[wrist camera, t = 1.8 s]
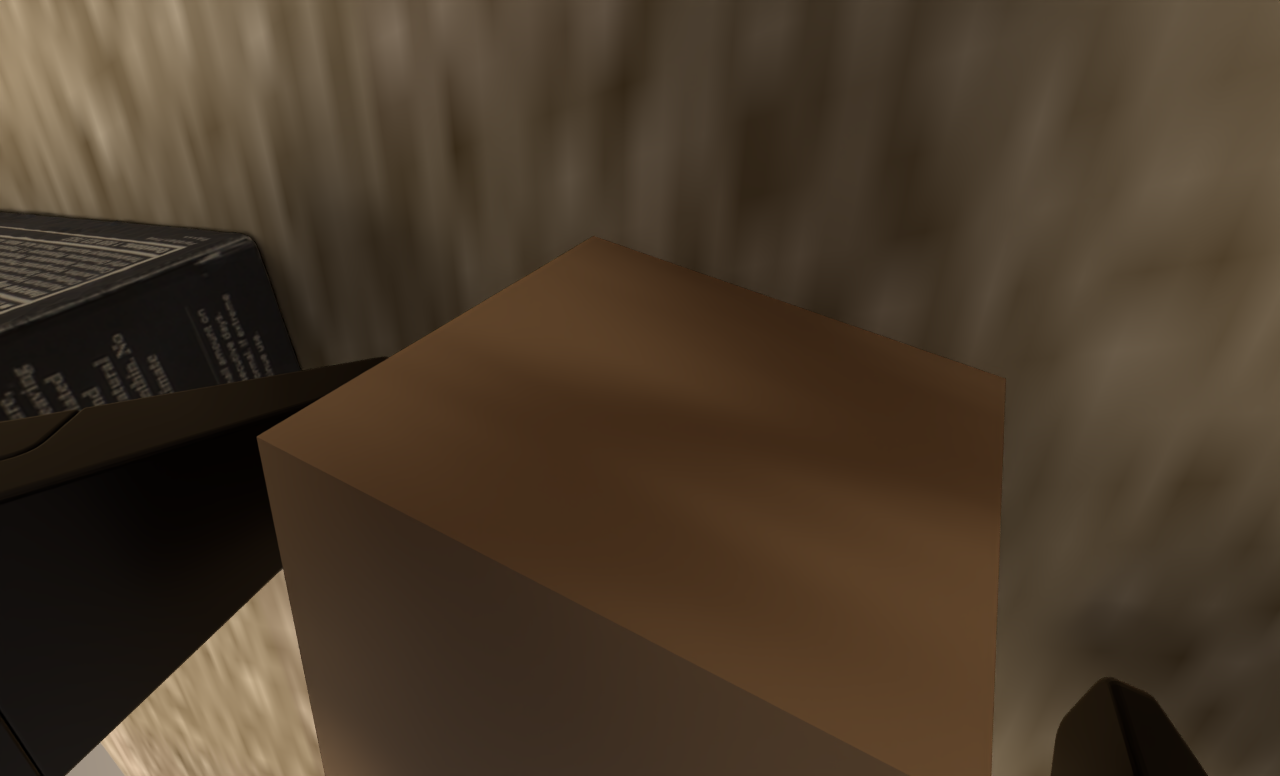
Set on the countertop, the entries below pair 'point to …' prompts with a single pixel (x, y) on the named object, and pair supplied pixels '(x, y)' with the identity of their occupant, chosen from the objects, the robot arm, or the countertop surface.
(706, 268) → the countertop surface
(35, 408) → the small box
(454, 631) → the block
